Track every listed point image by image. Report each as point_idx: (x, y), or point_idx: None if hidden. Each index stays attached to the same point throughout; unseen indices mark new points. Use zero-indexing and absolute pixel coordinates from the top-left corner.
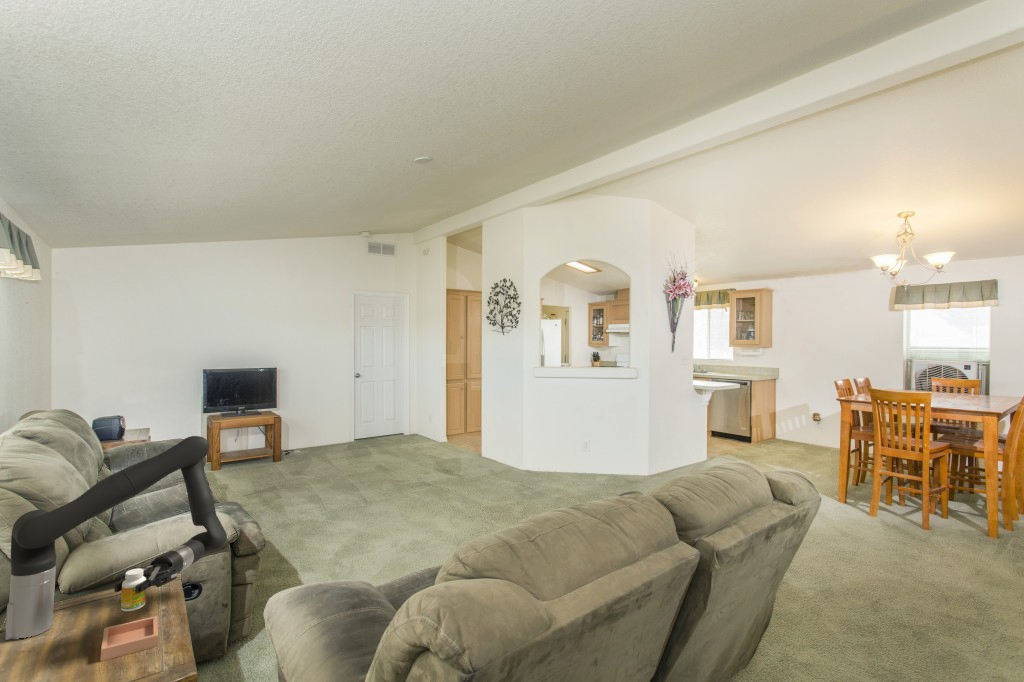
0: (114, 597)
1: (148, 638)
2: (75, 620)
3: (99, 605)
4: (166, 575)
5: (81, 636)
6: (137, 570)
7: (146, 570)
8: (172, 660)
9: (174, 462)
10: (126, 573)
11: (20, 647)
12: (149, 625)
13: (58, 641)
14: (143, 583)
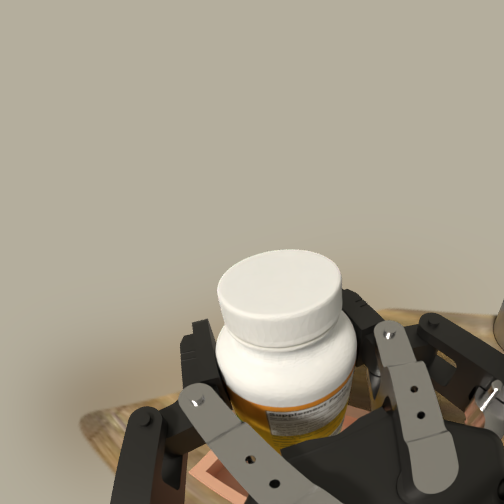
0: None
1: (205, 456)
2: None
3: None
4: (118, 463)
5: (444, 399)
6: (274, 288)
7: (401, 442)
8: (118, 443)
9: None
10: (295, 251)
11: (466, 324)
12: None
13: (452, 365)
14: (196, 349)
